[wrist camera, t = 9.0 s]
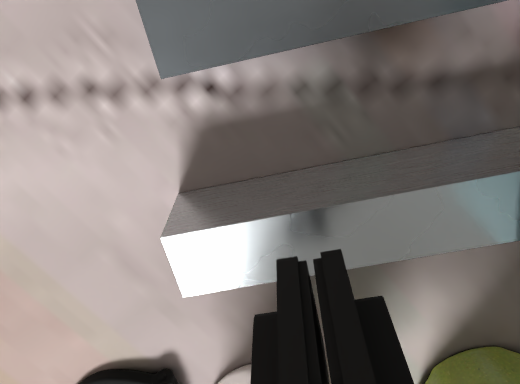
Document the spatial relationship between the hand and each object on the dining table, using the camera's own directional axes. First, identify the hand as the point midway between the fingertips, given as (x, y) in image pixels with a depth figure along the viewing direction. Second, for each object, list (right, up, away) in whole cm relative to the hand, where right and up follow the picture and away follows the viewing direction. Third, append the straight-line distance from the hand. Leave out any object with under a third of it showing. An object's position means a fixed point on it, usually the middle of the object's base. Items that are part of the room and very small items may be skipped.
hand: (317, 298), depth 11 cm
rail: (+8, +4, +4) cm, 10 cm away
